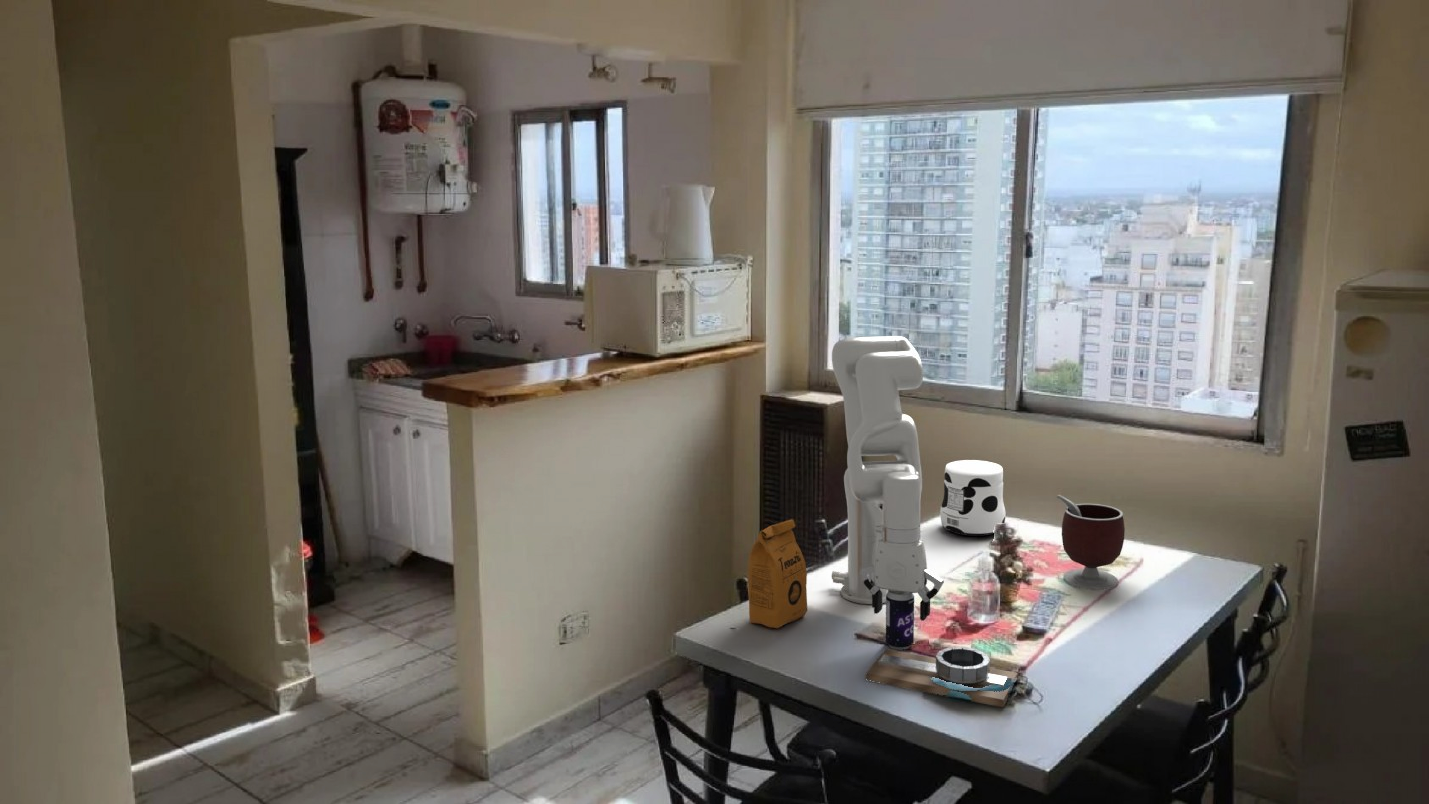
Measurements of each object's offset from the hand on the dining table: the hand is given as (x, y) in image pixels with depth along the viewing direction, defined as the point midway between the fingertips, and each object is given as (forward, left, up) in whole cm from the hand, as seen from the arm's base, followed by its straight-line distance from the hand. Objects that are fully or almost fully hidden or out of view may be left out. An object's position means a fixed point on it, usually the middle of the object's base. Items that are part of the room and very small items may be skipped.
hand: (900, 614), depth 216 cm
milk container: (-5, +81, -7) cm, 82 cm away
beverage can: (0, +1, -7) cm, 7 cm away
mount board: (+12, -11, -7) cm, 18 cm away
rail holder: (+12, -11, -5) cm, 17 cm away
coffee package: (-28, +3, -7) cm, 29 cm away
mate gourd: (+29, +55, -7) cm, 62 cm away
